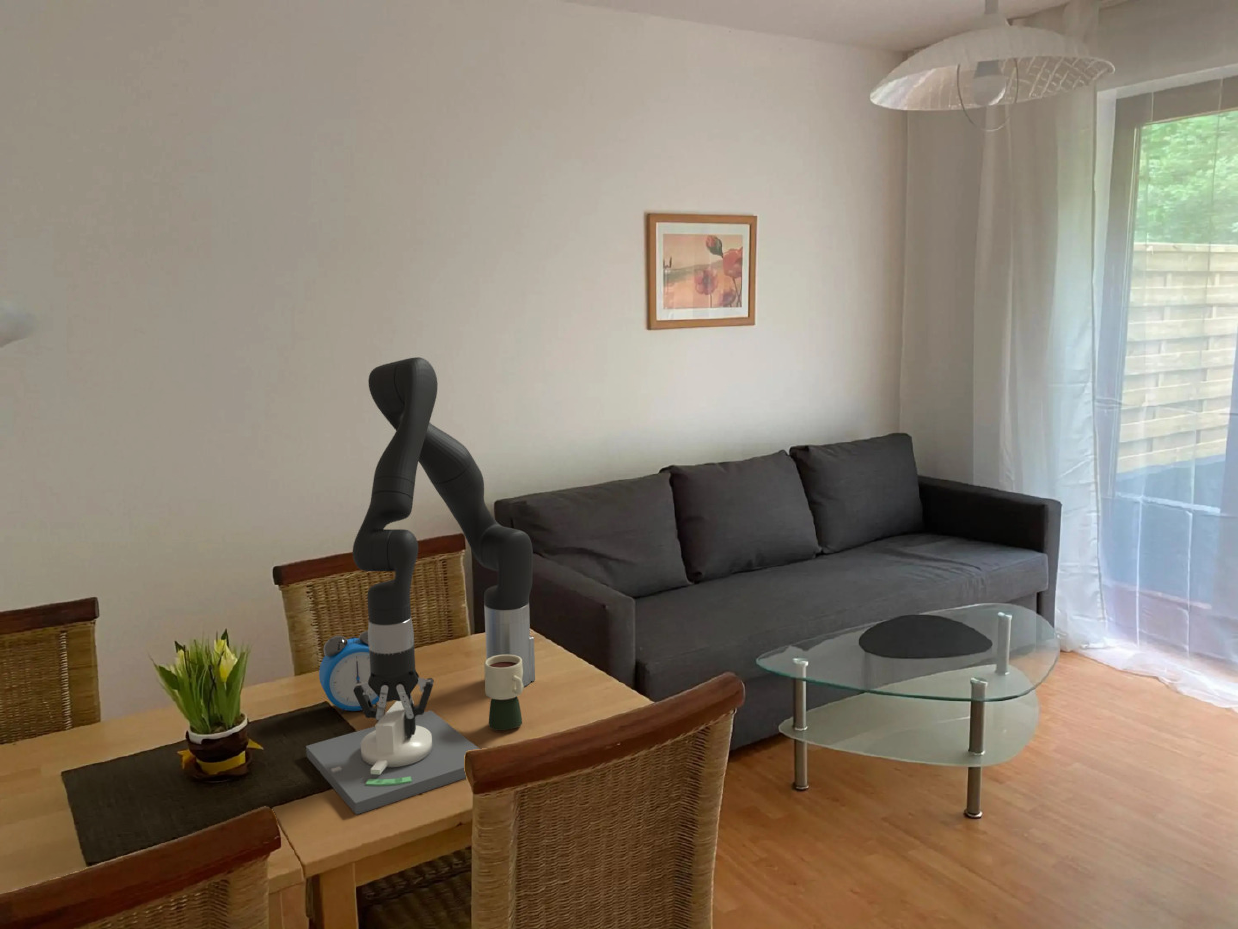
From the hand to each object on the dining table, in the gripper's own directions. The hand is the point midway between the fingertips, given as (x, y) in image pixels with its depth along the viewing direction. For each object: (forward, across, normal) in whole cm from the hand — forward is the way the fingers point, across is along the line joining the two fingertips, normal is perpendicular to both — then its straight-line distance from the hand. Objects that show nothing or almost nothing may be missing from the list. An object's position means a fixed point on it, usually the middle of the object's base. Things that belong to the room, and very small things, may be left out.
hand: (397, 736), depth 164 cm
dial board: (+5, 0, 0) cm, 5 cm away
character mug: (+5, -18, -12) cm, 22 cm away
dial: (+2, +1, +2) cm, 3 cm away
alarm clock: (+5, +11, -24) cm, 27 cm away
